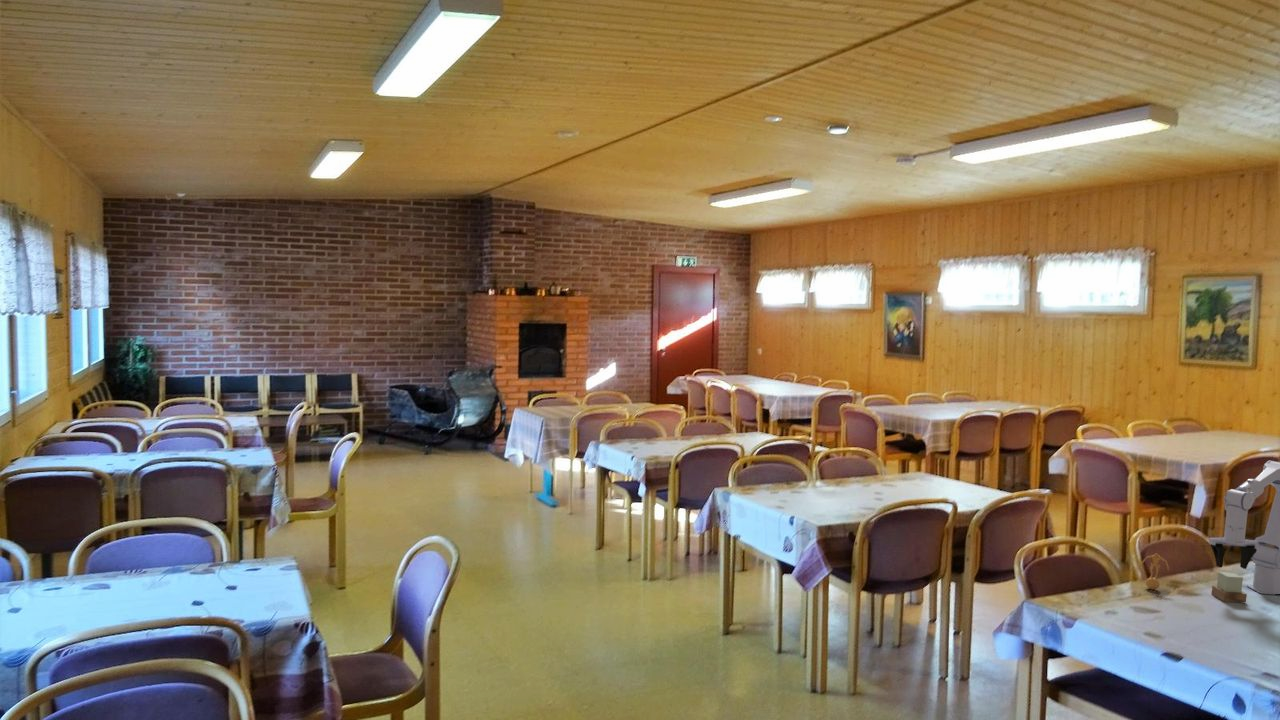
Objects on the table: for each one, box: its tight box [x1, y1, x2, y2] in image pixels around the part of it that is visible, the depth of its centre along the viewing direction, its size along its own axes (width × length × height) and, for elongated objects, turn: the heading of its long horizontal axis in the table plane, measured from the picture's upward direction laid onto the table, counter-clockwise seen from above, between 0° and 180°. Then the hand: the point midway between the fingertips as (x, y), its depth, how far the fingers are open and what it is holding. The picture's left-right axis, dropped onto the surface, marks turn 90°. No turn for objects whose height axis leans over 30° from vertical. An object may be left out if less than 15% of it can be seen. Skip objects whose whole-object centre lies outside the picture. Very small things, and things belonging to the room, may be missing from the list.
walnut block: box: [1211, 585, 1248, 603], centre depth 300 cm, size 7×7×3 cm
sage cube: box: [1216, 571, 1244, 593], centre depth 300 cm, size 5×5×5 cm
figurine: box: [1140, 552, 1170, 591], centre depth 307 cm, size 8×6×12 cm
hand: (1231, 567), depth 300 cm, fingers open, 7 cm apart
